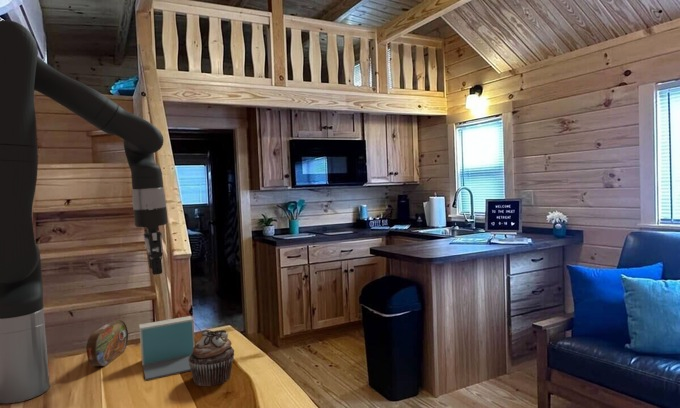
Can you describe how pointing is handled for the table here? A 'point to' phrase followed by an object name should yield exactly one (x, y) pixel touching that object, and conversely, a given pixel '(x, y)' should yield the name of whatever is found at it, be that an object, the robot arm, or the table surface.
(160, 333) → the tile
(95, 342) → the tin
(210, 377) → the cupcake
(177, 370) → the mat
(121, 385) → the table surface
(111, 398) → the table surface
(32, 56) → the robot arm
